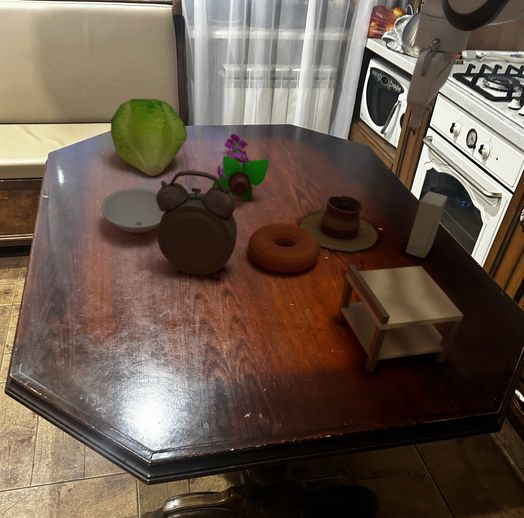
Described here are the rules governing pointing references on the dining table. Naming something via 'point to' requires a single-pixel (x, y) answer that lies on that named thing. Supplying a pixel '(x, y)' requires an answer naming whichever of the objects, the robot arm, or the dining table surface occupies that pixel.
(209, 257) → the alarm clock
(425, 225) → the cosmetic box
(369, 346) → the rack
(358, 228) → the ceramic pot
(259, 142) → the dining table surface
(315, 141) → the dining table surface
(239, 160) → the potted plant
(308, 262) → the donut
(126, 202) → the dish
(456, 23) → the robot arm
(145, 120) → the lettuce
